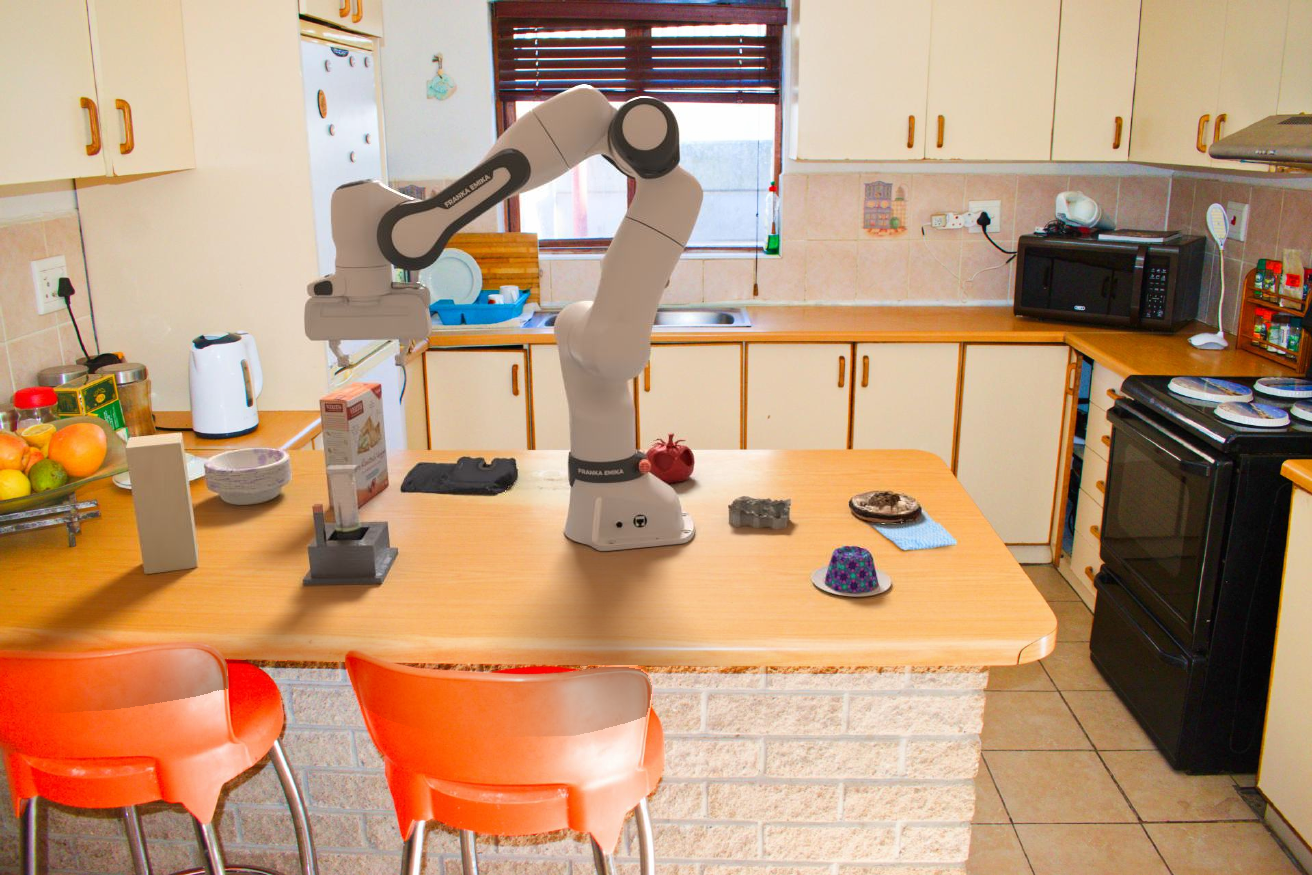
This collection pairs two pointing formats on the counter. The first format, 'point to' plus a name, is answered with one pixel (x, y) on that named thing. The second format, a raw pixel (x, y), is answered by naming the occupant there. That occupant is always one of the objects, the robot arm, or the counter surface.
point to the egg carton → (759, 512)
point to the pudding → (851, 573)
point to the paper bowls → (248, 474)
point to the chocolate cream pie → (884, 507)
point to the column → (345, 501)
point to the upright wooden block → (162, 502)
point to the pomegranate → (671, 461)
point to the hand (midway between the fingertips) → (372, 365)
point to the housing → (348, 554)
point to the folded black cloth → (462, 477)
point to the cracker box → (356, 436)
